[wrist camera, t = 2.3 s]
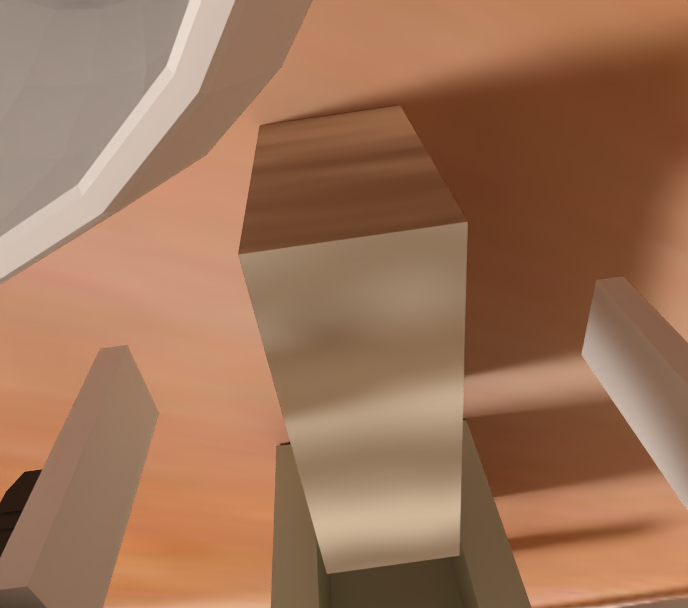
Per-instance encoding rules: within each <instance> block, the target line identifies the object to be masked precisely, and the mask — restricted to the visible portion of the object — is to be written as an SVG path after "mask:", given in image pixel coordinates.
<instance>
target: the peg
mask: <svg viewBox="0 0 688 608" xmlns="http://www.w3.org/2000/svg"><path fill="white" fill-rule="evenodd" d="M467 232H468V221H467V220H466V218H465V216H464V214H463V213H462V211H461V209H460V208H459V206H458V204H457V202H456V201H455V199H454V197H453V196H452V194H451V192H450V190H449V189H448V187H447V185H446V184H445V182H444V180H443V178H442V177H441V175H440V173H439V172H438V170H437V168H436V166H435V165H434V163H433V161H432V159H431V158H430V156H429V154H428V153H427V151H426V149H425V147H424V146H423V144H422V142H421V141H420V139H419V137H418V135H417V134H416V132H415V130H414V129H413V127H412V125H411V123H410V122H409V120H408V118H407V116H406V115H405V113H404V111H403V110H402V108H401V106H400V105H399V106H392V107H385V108H378V109H371V110H364V111H358V112H351V113H344V114H337V115H330V116H323V117H316V118H309V119H302V120H295V121H288V122H281V123H274V124H267V125H261V126H260V127H259V133H258V139H257V145H256V151H255V157H254V163H253V168H252V174H251V180H250V186H249V192H248V198H247V204H246V210H245V216H244V222H243V228H242V234H241V240H240V246H239V252H238V256H239V260H240V263H241V267H242V270H243V274H244V278H245V281H246V285H247V288H248V292H249V296H250V299H251V303H252V306H253V310H254V314H255V317H256V321H257V324H258V328H259V332H260V335H261V339H262V342H263V346H264V350H265V353H266V357H267V360H268V364H269V368H270V371H271V375H272V378H273V382H274V386H275V389H276V393H277V396H278V400H279V403H280V407H281V411H282V414H283V418H284V421H285V425H286V429H287V432H288V436H289V439H290V443H291V447H292V450H293V454H294V457H295V461H296V465H297V468H298V472H299V475H300V479H301V483H302V486H303V490H304V493H305V497H306V501H307V504H308V508H309V511H310V515H311V519H312V522H313V526H314V529H315V533H316V537H317V540H318V544H319V547H320V551H321V555H322V558H323V562H324V565H325V569H326V573H327V574H330V573H337V572H345V571H352V570H359V569H366V568H374V567H381V566H388V565H395V564H402V563H410V562H417V561H424V560H431V559H439V558H446V557H453V556H459V553H460V513H461V473H462V433H463V393H464V352H465V312H466V272H467Z"/></svg>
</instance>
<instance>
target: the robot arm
mask: <svg viewBox="0 0 688 608" xmlns="http://www.w3.org/2000/svg"><path fill="white" fill-rule="evenodd" d="M582 357H583V358H584V359H585V361H586V362H587V364H588V365H589V367H590V368H591V370H592V371H593V373H594V374H595V376H596V377H597V379H598V380H599V381H600V383H601V384H602V386H603V387H604V389H605V390H606V392H607V393H608V395H609V396H610V398H611V399H612V401H613V402H614V403H615V405H616V406H617V408H618V409H619V411H620V412H621V414H622V415H623V417H624V418H625V420H626V421H627V423H628V424H629V425H630V427H631V428H632V430H633V431H634V433H635V434H636V436H637V437H638V439H639V440H640V442H641V443H642V445H643V446H644V447H645V449H646V450H647V452H648V453H649V455H650V456H651V458H652V459H653V461H654V462H655V464H656V465H657V467H658V468H659V469H660V471H661V472H662V474H663V475H664V477H665V478H666V480H667V481H668V483H669V484H670V486H671V487H672V489H673V490H674V491H675V493H676V494H677V496H678V497H679V499H680V500H681V502H682V503H683V505H684V506H685V508H686V509H687V511H688V343H687V342H686V341H685V340H684V338H683V337H682V336H681V335H680V334H679V333H678V332H677V331H676V330H675V329H674V328H673V327H672V326H671V325H670V324H669V323H668V322H667V321H666V320H665V319H664V318H663V317H662V316H661V315H660V314H659V313H658V312H657V310H656V309H655V308H654V307H653V306H652V305H651V304H650V303H649V302H648V301H647V300H646V299H645V298H644V297H643V296H642V295H641V294H640V293H639V292H638V291H637V290H636V289H635V288H634V287H633V286H632V285H631V284H630V282H629V281H628V280H627V279H626V278H625V277H624V276H620V277H613V278H606V279H599V280H596V282H595V287H594V292H593V297H592V302H591V308H590V313H589V318H588V323H587V329H586V334H585V339H584V344H583V349H582ZM158 415H159V412H158V410H157V408H156V406H155V404H154V401H153V399H152V397H151V395H150V393H149V391H148V388H147V386H146V384H145V382H144V380H143V378H142V376H141V373H140V371H139V369H138V367H137V365H136V363H135V361H134V358H133V356H132V354H131V352H130V350H129V348H128V345H124V346H116V347H109V348H102V349H100V350H99V352H98V354H97V356H96V358H95V361H94V363H93V365H92V367H91V369H90V371H89V373H88V375H87V377H86V379H85V381H84V384H83V386H82V388H81V390H80V392H79V394H78V396H77V398H76V400H75V402H74V404H73V407H72V409H71V411H70V413H69V415H68V417H67V419H66V421H65V423H64V425H63V427H62V430H61V432H60V434H59V436H58V438H57V440H56V442H55V444H54V446H53V448H52V450H51V453H50V455H49V457H48V459H47V461H46V463H45V465H44V467H43V469H42V470H35V471H28V472H24V473H23V474H22V475H21V476H20V477H19V478H18V480H17V481H16V482H15V483H14V484H13V485H12V486H11V487H10V488H9V489H8V490H7V491H6V493H5V495H4V497H3V499H2V500H1V502H0V608H103V605H104V601H105V598H106V594H107V591H108V587H109V584H110V581H111V577H112V574H113V570H114V567H115V563H116V560H117V556H118V553H119V550H120V546H121V543H122V539H123V536H124V532H125V529H126V525H127V522H128V518H129V515H130V512H131V508H132V505H133V501H134V498H135V494H136V491H137V487H138V484H139V480H140V477H141V474H142V470H143V467H144V463H145V460H146V456H147V453H148V449H149V446H150V442H151V439H152V436H153V432H154V429H155V425H156V422H157V418H158Z"/></svg>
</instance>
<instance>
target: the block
mask: <svg viewBox="0 0 688 608" xmlns="http://www.w3.org/2000/svg"><path fill="white" fill-rule="evenodd" d="M271 608H531V605H530V602H529V599H528V596H527V594H526V591H525V588H524V585H523V582H522V579H521V576H520V573H519V570H518V567H517V565H516V562H515V559H514V556H513V553H512V550H511V547H510V544H509V541H508V539H507V536H506V533H505V530H504V527H503V524H502V521H501V518H500V515H499V513H498V510H497V507H496V504H495V501H494V498H493V495H492V492H491V489H490V487H489V484H488V481H487V478H486V475H485V472H484V469H483V466H482V463H481V461H480V458H479V455H478V452H477V449H476V446H475V443H474V440H473V437H472V434H471V432H470V429H469V426H468V423H467V420H463V433H462V473H461V513H460V553H459V556H453V557H446V558H439V559H431V560H424V561H417V562H410V563H402V564H395V565H388V566H381V567H374V568H366V569H359V570H352V571H345V572H337V573H330V574H327V573H326V569H325V565H324V562H323V558H322V555H321V551H320V547H319V544H318V540H317V537H316V533H315V529H314V526H313V522H312V519H311V515H310V511H309V508H308V504H307V501H306V497H305V493H304V490H303V486H302V483H301V479H300V475H299V472H298V468H297V465H296V461H295V457H294V454H293V450H292V447H291V444H289V445H282V446H276V475H275V504H274V533H273V562H272V592H271Z"/></svg>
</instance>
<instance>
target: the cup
mask: <svg viewBox="0 0 688 608" xmlns="http://www.w3.org/2000/svg"><path fill="white" fill-rule="evenodd" d="M311 3H312V0H0V284H2V283H4V282H5V281H7V280H9V279H10V278H12V277H13V276H15V275H17V274H18V273H20V272H21V271H23V270H25V269H26V268H28V267H30V266H31V265H33V264H34V263H36V262H38V261H39V260H41V259H42V258H44V257H46V256H47V255H49V254H50V253H52V252H54V251H55V250H57V249H59V248H60V247H62V246H63V245H65V244H67V243H68V242H70V241H71V240H73V239H75V238H76V237H78V236H80V235H81V234H83V233H84V232H86V231H88V230H89V229H91V228H92V227H94V226H96V225H97V224H99V223H100V222H102V221H104V220H105V219H107V218H109V217H110V216H112V215H113V214H115V213H117V212H118V211H120V210H121V209H123V208H125V207H126V206H128V205H129V204H131V203H132V202H134V201H135V200H137V199H139V198H140V197H142V196H143V195H145V194H146V193H148V192H149V191H151V190H153V189H154V188H156V187H157V186H159V185H160V184H162V183H163V182H165V181H167V180H168V179H170V178H171V177H173V176H174V175H176V174H178V173H179V172H181V171H182V170H184V169H185V168H187V167H188V166H190V165H192V164H193V163H195V162H196V161H198V160H199V159H201V158H202V157H204V156H206V155H207V154H208V152H209V151H210V150H211V149H212V148H213V147H214V145H215V144H216V143H217V142H218V141H219V139H220V138H221V137H222V136H223V135H224V134H225V132H226V131H227V130H228V129H229V128H230V127H231V125H232V124H233V123H234V122H235V121H236V120H237V118H238V117H239V116H240V115H241V114H242V113H243V111H244V110H245V109H246V108H247V107H248V106H249V104H250V103H251V102H252V101H253V100H254V98H255V97H256V96H257V95H258V94H259V93H260V91H261V90H262V89H263V88H264V87H265V86H266V84H267V83H268V82H269V81H270V80H271V79H272V77H273V76H274V75H275V74H276V73H277V72H278V70H279V69H280V68H281V67H282V65H283V62H284V60H285V58H286V56H287V54H288V52H289V50H290V47H291V45H292V43H293V41H294V39H295V37H296V35H297V33H298V30H299V28H300V26H301V24H302V22H303V20H304V18H305V15H306V13H307V11H308V9H309V7H310V5H311Z"/></svg>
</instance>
